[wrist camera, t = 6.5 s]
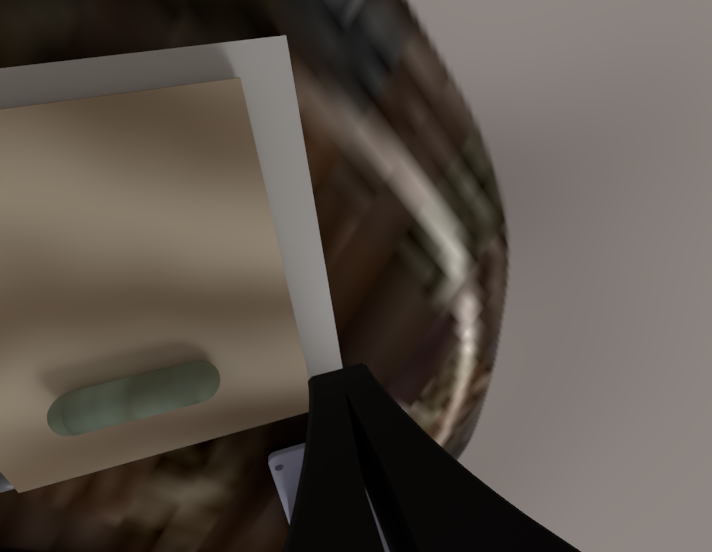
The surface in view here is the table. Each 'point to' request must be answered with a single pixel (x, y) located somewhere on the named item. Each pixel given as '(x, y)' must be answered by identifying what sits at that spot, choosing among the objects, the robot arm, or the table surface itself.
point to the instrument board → (137, 282)
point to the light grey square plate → (272, 138)
